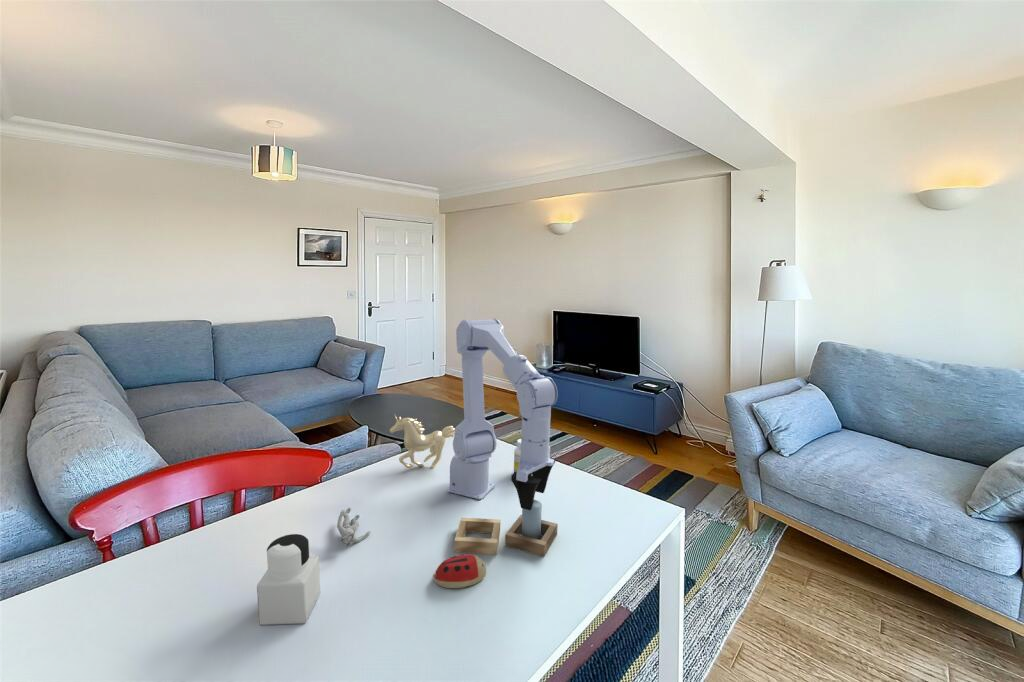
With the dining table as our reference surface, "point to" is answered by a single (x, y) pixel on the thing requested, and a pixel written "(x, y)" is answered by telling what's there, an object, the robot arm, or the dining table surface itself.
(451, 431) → the unicorn
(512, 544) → the wooden square ring
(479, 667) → the dining table surface
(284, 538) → the white blocky bust figurine
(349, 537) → the grey branched piece
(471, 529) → the light wooden square frame
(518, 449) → the supplement bottle
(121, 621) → the dining table surface
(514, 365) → the robot arm
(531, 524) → the thick gray cylindrical peg
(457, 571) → the ladybug figurine
